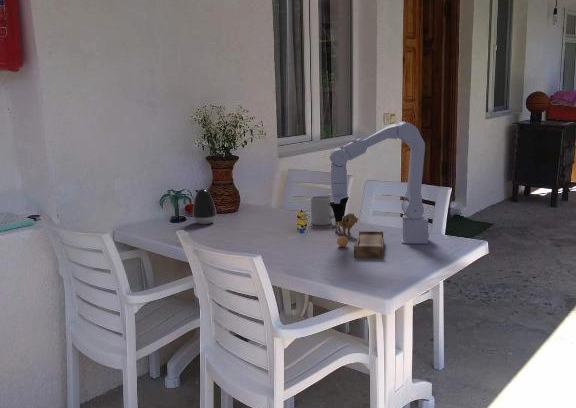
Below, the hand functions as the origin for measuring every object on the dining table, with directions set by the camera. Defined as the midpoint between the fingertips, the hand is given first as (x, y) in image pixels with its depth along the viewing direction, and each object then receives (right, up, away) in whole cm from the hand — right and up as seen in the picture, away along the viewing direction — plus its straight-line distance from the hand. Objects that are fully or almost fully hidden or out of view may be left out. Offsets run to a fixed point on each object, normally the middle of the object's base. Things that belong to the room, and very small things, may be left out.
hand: (339, 218), depth 217 cm
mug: (-3, -3, +34) cm, 35 cm away
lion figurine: (+3, -6, +17) cm, 19 cm away
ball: (+1, -8, -2) cm, 8 cm away
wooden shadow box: (+10, -11, -6) cm, 16 cm away
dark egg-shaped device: (-56, -3, +44) cm, 71 cm away
